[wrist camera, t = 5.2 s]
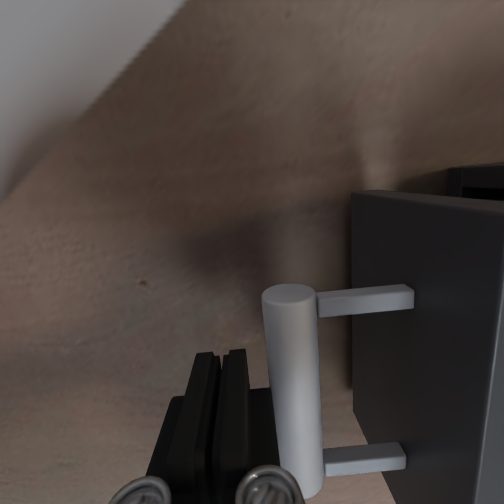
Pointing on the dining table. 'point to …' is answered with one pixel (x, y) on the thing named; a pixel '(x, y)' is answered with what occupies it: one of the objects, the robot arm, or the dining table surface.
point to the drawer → (403, 352)
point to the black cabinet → (477, 181)
